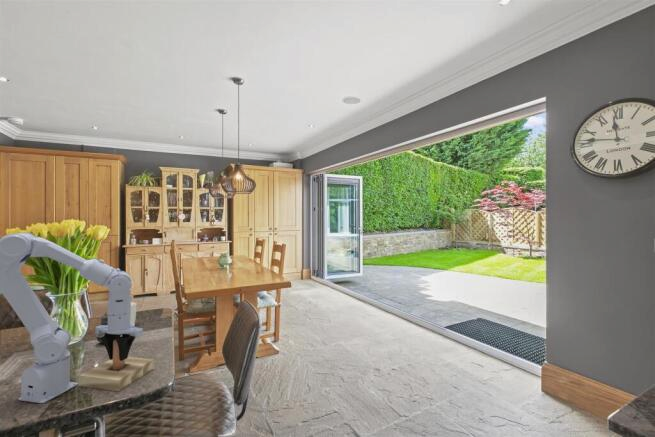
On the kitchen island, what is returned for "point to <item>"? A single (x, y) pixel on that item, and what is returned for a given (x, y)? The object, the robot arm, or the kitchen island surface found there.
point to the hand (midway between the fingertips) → (118, 358)
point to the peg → (117, 358)
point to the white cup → (133, 313)
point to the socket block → (115, 374)
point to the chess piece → (103, 322)
